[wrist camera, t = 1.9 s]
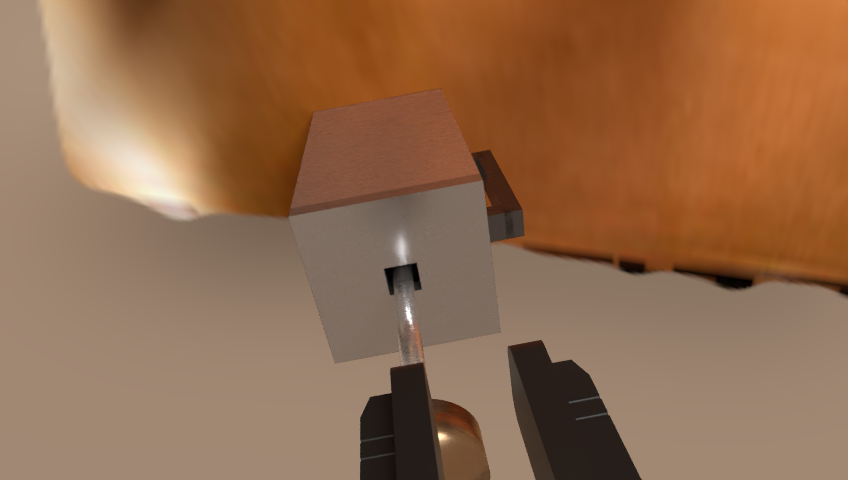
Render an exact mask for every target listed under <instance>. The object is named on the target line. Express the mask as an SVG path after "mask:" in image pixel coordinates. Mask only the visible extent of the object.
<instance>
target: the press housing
mask: <svg viewBox="0 0 848 480" xmlns="http://www.w3.org/2000/svg"><path fill="white" fill-rule="evenodd" d="M484 189H485V191H486V193H487V196H488V198H489V200H490V202H491V204H492V207H487V208H486V201H485V193H484ZM288 217H289V221H290V224H291V227H292V230H293V233H294V236H295V239H296V242H297V245H298V249H299V252H300V255H301V258H302V261H303V264H304V267H305V271H306V274H307V277H308V280H309V283H310V286H311V290H312V293H313V296H314V299H315V302H316V305H317V308H318V311H319V314H320V318H321V321H322V324H323V327H324V330H325V333H326V337H327V339H328V343H329V346H330V349H331V352H332V355H333V359H334V361H335V363H340V362H345V361H350V360H356V359H362V358H367V357H372V356H378V355H383V354H388V353H394V352H399V342H398V330H397V318H396V307H395V295H394V286H389V283H388V279H387V274H386V270H385V268H390V267H395V266H401V265H406V264H411V263H417V267H418V272H419V277H420V281H415V282H414V289H415V296H416V303H417V310H418V317H419V324H420V331H421V338H422V346H423V347H425V346H431V345H436V344H441V343H447V342H452V341H457V340H463V339H468V338H474V337H479V336H484V335H490V334H495V333H500V332H501V331H500V322H499V313H498V305H497V296H496V287H495V279H494V270H493V262H492V253H491V244H490V242H493V241H499V240H504V239H509V238H515V237H520V236H524V223H523V211H522V208H521V206H520V204H519V203H518V201H517V199H516V197H515V195H514V193H513V192H512V190H511V188H510V186H509V184H508V182H507V181H506V179H505V177H504V175H503V173H502V171H501V170H500V168H499V166H498V164H497V162H496V160H495V159H494V157H493V155H492V153H491V151H490V150H487V151H481V152H476V153H470V151H469V149H468V146H467V144H466V142H465V140H464V138H463V136H462V133H461V131H460V129H459V127H458V125H457V122H456V120H455V118H454V116H453V114H452V112H451V109H450V107H449V105H448V103H447V101H446V98H445V96H444V94H443V92H442V90H441V88H440V89H434V90H429V91H424V92H418V93H413V94H408V95H402V96H397V97H391V98H386V99H381V100H375V101H370V102H365V103H359V104H354V105H348V106H343V107H338V108H332V109H327V110H321V111H316V112H314V114H313V118H312V122H311V126H310V130H309V134H308V138H307V142H306V147H305V151H304V155H303V159H302V163H301V167H300V171H299V175H298V179H297V183H296V187H295V191H294V195H293V200H292V204H291V208H290V212H289V216H288Z"/></svg>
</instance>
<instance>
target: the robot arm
mask: <svg viewBox="0 0 848 480" xmlns="http://www.w3.org/2000/svg"><path fill="white" fill-rule="evenodd" d="M508 358H509V367H510V376H511V386H512V394H513V401H514V406H515V412H516V416H517V420H518V424H519V427H520V430H521V433H522V437H523V440H524V443H525V447H526V450H527V453H528V456H529V459H530V463H531V466H532V469H533V472H534V476H535V479H536V480H642V479H641V478H640V476H639V474H638V472H637V470H636V468H635V466H634V464H633V462H632V460H631V458H630V456H629V454H628V452H627V450H626V448H625V446H624V444H623V442H622V440H621V438H620V436H619V434H618V432H617V430H616V428H615V426H614V424H613V422H612V420H611V418H610V416H609V415H608V412H607V409H606V408H605V405H604V403H603V401H602V399H600V397H599V393H598V391H597V389H596V387H595V385H594V383H593V381H592V379H591V377H590V375H589V374H588V373H586V372H585V371H584V370H583V369H582V368H580V367H579V366H578V365H577V364H576V363H575V362H573V361H572V360H566V361H561V362H556V363H552V362H551V360H550V357H549V355H548V353H547V350H546V348H545V346H544V344H543V342H542V341H541V340H539V341H533V342H528V343H523V344H517V345H512V346H508ZM390 375H391V391H392V393H390V394H384V395H379V396H373V397H370V399H369V401H368V403H367V405H366V407H365V409H364V411H363V413H362V415H361V418H360V422H361V423H360V440H361V444H360V458H361V462H360V480H445V477H444V470H443V463H442V456H441V449H440V443H439V436H438V430H437V424H436V419H435V414H434V409H433V404H432V399H431V395H430V390H429V385H428V380H427V376H426V371H425V366H424V363H423V362H420V363H415V364H410V365H404V366H399V367H394V368H391V369H390Z"/></svg>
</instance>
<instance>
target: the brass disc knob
mask: <svg viewBox="0 0 848 480" xmlns="http://www.w3.org/2000/svg"><path fill="white" fill-rule="evenodd" d="M385 270H386V274H387V279H388V283H389V286H394V295H395V307H396V318H397V330H398V342H399V353H400V365H401V366H404V365H410V364H415V363H420V362H423V363H424V366H425V360H424V353H423V346H422V338H421V331H420V324H419V317H418V310H417V303H416V296H415V289H414V282H415V281H420V277H419V272H418V267H417V263H411V264H406V265H401V266H395V267H390V268H385ZM425 371H426V367H425ZM426 376H427V374H426ZM432 404H433V409H434V414H435V419H436V424H437V430H438V436H439V443H440V449H441V456H442V463H443V470H444V477H445V480H490V470H489V466H488V461H487V457H486V453H485V449H484V444H483V440H482V435H481V431H480V428H479V425H478V423H477V421H476V420H475V418H474V417H473V416H472V415H471V414H470V413H469V412H468V411H467V410H466V409H464V408H462V407H461V406H459V405H456V404H454V403H451V402H448V401H444V400H438V399H432Z"/></svg>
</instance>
